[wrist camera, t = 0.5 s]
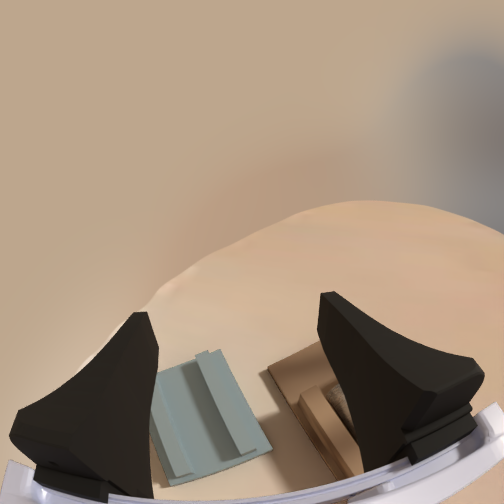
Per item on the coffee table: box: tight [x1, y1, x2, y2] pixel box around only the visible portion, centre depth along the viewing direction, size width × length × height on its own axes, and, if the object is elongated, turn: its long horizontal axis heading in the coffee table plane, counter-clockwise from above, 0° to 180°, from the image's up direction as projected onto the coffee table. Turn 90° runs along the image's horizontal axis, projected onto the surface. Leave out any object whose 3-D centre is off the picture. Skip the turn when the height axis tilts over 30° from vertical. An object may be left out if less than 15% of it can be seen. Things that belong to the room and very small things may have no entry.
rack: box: [149, 349, 273, 486], centre depth 24 cm, size 12×10×3 cm
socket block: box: [268, 341, 364, 481], centre depth 21 cm, size 20×9×4 cm, turn 25°
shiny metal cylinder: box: [326, 383, 358, 442], centre depth 21 cm, size 8×4×4 cm, turn 25°
